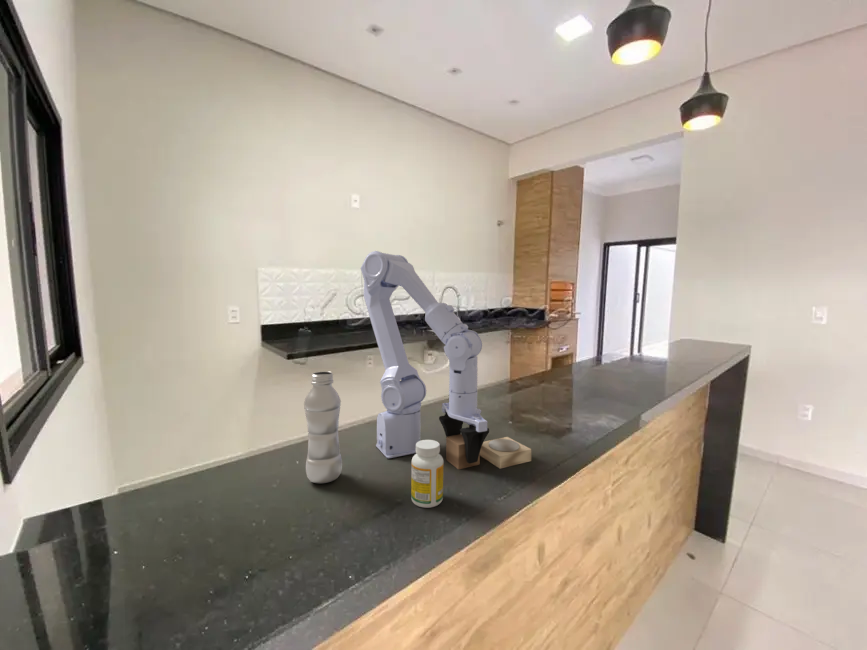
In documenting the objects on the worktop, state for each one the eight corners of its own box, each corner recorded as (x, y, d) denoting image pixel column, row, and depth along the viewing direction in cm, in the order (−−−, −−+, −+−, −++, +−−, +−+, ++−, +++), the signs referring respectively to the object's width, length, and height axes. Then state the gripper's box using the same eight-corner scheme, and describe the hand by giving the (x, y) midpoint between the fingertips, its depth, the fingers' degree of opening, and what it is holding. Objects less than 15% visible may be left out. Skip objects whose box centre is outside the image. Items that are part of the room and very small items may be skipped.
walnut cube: (458, 469, 75) (458, 445, 74) (446, 460, 79) (446, 436, 79) (479, 464, 77) (479, 440, 77) (466, 455, 81) (466, 433, 81)
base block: (499, 468, 75) (500, 454, 75) (477, 453, 82) (477, 441, 82) (531, 460, 79) (531, 447, 78) (507, 447, 86) (507, 435, 85)
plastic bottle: (350, 476, 71) (348, 372, 70) (322, 492, 66) (320, 378, 64) (325, 468, 75) (323, 368, 73) (297, 482, 69) (295, 374, 68)
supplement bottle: (417, 511, 60) (417, 452, 59) (406, 495, 65) (406, 440, 64) (448, 504, 62) (448, 447, 61) (435, 489, 67) (436, 436, 66)
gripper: (500, 396, 72) (499, 465, 73) (461, 381, 85) (461, 440, 86) (469, 400, 69) (468, 472, 70) (433, 384, 82) (433, 445, 83)
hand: (462, 455), depth 78 cm, fingers open, 7 cm apart
